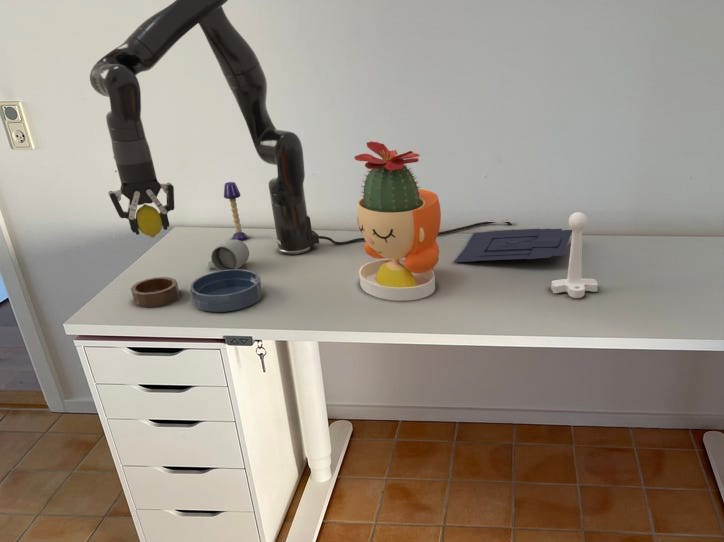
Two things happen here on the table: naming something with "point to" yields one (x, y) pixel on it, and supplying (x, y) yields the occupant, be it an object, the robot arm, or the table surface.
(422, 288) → the potted cactus
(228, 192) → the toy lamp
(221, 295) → the bowl
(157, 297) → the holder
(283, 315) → the table surface
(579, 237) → the joystick
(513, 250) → the dark blue flat board
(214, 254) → the ceramic mug
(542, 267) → the table surface
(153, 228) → the lemon
